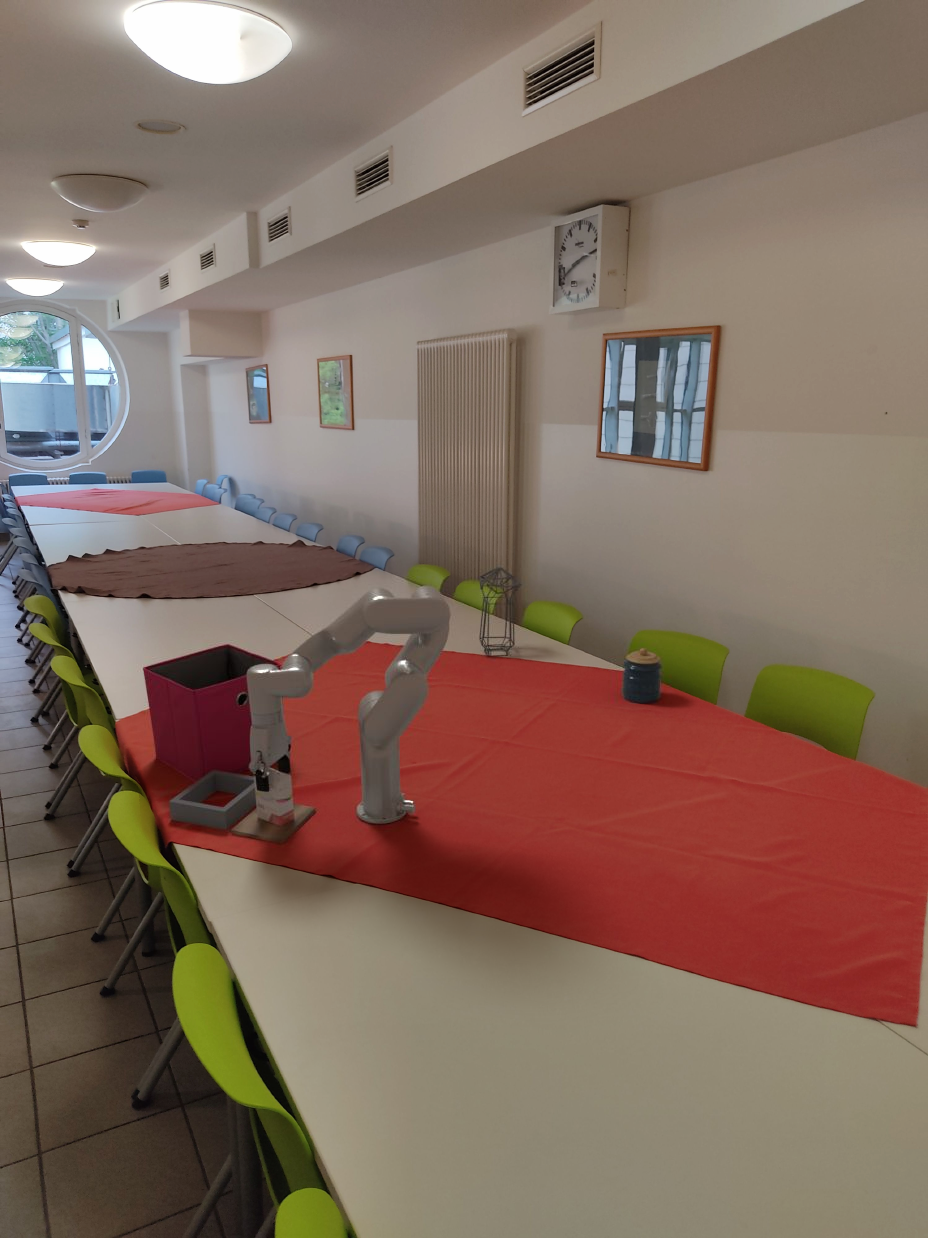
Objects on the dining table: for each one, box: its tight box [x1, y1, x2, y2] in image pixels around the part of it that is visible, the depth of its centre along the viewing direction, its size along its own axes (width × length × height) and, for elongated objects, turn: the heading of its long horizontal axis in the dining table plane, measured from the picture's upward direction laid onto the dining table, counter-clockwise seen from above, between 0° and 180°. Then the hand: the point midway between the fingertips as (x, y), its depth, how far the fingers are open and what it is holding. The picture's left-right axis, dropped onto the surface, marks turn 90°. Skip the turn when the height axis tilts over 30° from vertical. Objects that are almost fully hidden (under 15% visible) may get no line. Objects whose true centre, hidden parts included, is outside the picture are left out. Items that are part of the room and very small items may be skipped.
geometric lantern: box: [476, 566, 522, 657], centre depth 323 cm, size 16×16×35 cm
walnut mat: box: [230, 803, 316, 845], centre depth 202 cm, size 14×16×1 cm
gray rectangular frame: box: [168, 770, 256, 831], centre depth 208 cm, size 16×18×5 cm
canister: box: [621, 647, 663, 704], centre depth 279 cm, size 13×13×18 cm
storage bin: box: [142, 643, 285, 784], centre depth 233 cm, size 28×29×28 cm
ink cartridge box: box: [253, 766, 294, 826], centre depth 200 cm, size 9×5×15 cm, turn 55°
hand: (274, 781), depth 199 cm, fingers open, 9 cm apart
